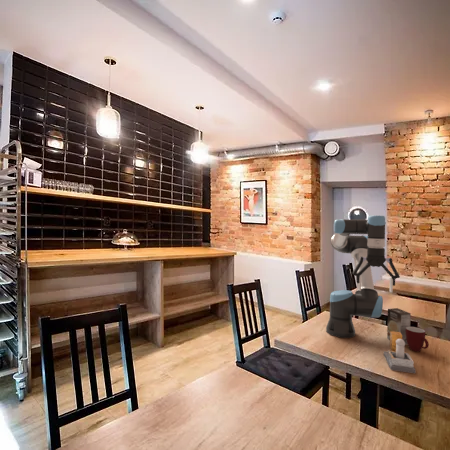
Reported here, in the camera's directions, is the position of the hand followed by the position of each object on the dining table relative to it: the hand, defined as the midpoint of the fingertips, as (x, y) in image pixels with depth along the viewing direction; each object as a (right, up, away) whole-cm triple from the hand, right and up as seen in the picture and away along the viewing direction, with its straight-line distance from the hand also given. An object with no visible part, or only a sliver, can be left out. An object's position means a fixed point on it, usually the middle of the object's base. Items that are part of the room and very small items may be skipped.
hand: (375, 291), depth 141 cm
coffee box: (+18, -29, +11) cm, 36 cm away
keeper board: (+3, -29, -13) cm, 32 cm away
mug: (+20, -29, 0) cm, 35 cm away
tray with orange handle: (+4, -27, -13) cm, 30 cm away
